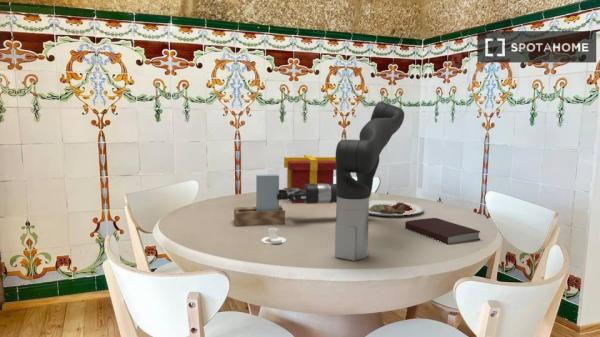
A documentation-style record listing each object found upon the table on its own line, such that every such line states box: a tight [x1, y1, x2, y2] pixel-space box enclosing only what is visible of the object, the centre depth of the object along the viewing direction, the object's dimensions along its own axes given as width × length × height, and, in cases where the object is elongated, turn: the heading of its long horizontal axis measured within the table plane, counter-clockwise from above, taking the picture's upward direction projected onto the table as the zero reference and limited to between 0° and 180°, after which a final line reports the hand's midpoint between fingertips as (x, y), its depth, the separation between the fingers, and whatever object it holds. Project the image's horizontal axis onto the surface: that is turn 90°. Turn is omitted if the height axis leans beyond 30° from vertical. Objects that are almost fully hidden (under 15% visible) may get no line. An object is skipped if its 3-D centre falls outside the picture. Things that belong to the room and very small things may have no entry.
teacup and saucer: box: [260, 227, 287, 245], centre depth 140 cm, size 9×8×4 cm
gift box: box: [283, 154, 336, 205], centre depth 209 cm, size 25×25×20 cm
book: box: [404, 217, 481, 245], centre depth 150 cm, size 14×22×4 cm, turn 23°
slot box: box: [233, 205, 286, 227], centre depth 164 cm, size 18×9×5 cm, turn 102°
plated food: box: [369, 199, 425, 217], centre depth 187 cm, size 30×30×3 cm
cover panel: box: [255, 174, 280, 211], centre depth 162 cm, size 8×3×18 cm, turn 102°
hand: (275, 194), depth 163 cm, fingers open, 8 cm apart
